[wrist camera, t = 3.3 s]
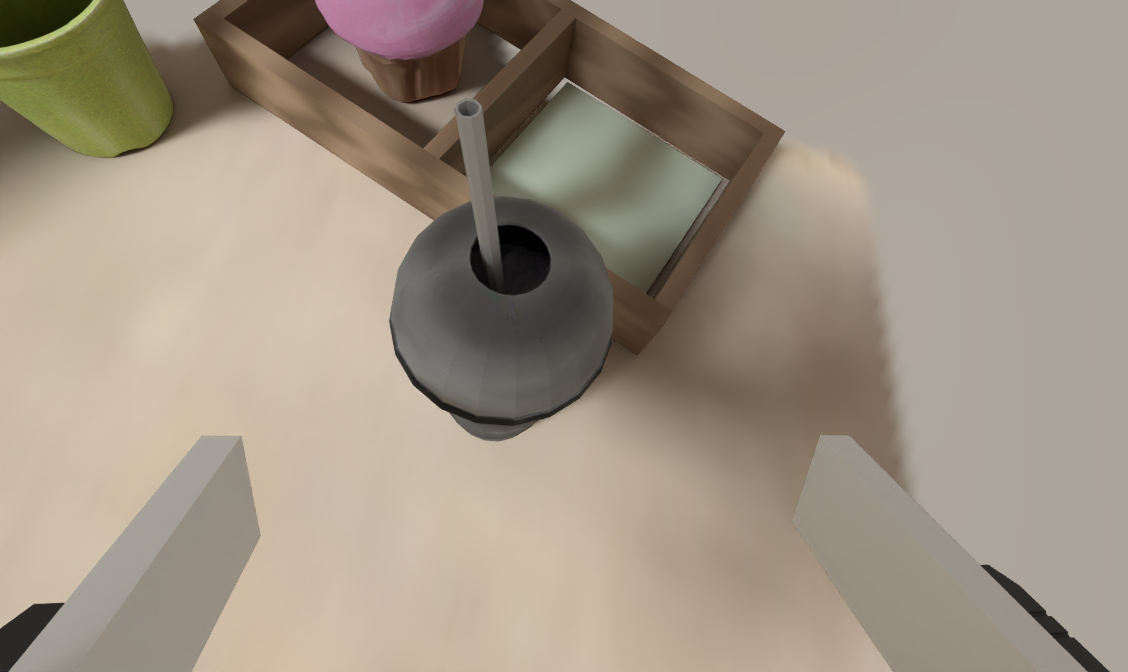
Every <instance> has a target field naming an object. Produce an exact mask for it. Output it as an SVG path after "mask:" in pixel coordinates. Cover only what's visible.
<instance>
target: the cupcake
mask: <svg viewBox="0 0 1128 672" xmlns="http://www.w3.org/2000/svg"><path fill="white" fill-rule="evenodd" d="M315 2H316V5H317V7H318V9H319V10H320V12H321V13H322V15H323V16H324V18H325V20H326V22H327V24H328V25H329V26H330V28H331V29H332V30H333V31H334V32H335V33H336V34H337V35H338V36H340V37H341V38H343V39H344V40H345V41H347V42H348V43H350V44H351V45H353V46H355V47H356V49H357V51H358V53H359V55H360V58H361V61H362V63H363V65H364V67H365V68H366V69H367V70H368V71H369V72H371V73H372V75H373V77H374V79H375V81H376V82H377V84H378V85H379V87H380V88H381V89H382V90H383V92H384V93H385V94H386V95H388V96H389V97H390V98H392V99H394V100H397V101H401V102H412V101H415V100H418V99H423V98H426V97H430V96H433V95H440V94H443V93H445V92H447V91H450V90H453V89H455V88H456V86H457V84H458V79H459V76H460V73H461V69H462V62H463V57H464V48H465V39H466V34H467V33H468V32H469V31H470V30H471V29H472V28H473V27H474V25H475V24H476V22H477V21H478V19H479V17H480V15H481V11H482V8H483V2H484V0H315Z"/></svg>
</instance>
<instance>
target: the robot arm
mask: <svg viewBox="0 0 1128 672" xmlns="http://www.w3.org/2000/svg"><path fill="white" fill-rule="evenodd" d="M792 524H793V525H794V527H795V528H796V529H797V531H798V532H799V534H800V535H801V537H802V538H803V540H804V541H805V543H806V544H807V546H808V547H809V549H810V550H811V552H812V553H813V554H814V556H815V557H816V559H817V560H818V562H819V563H820V565H821V566H822V568H823V569H824V571H825V572H826V574H827V575H828V577H829V578H830V580H831V581H832V582H833V584H834V585H835V587H836V588H837V590H838V591H839V593H840V594H841V596H842V597H843V599H844V600H845V602H846V603H847V605H848V606H849V607H850V609H851V610H852V612H853V613H854V615H855V616H856V618H857V619H858V621H859V622H860V624H861V625H862V627H863V628H864V630H865V631H866V633H867V634H868V635H869V637H870V638H871V640H872V641H873V643H874V644H875V646H876V647H877V649H878V650H879V652H880V653H881V655H882V656H883V658H884V659H885V660H886V662H887V663H888V665H889V666H890V668H891V669H892V671H893V672H1109V671H1108V670H1107V669H1106V668H1105V667H1104V666H1103V665H1102V664H1101V663H1100V662H1099V661H1098V660H1097V659H1096V658H1095V657H1094V656H1093V655H1092V654H1091V653H1089V652H1088V651H1087V650H1086V649H1085V648H1084V647H1083V646H1082V645H1081V644H1080V643H1079V642H1078V641H1077V640H1076V639H1075V638H1071V637H1069V635H1068V632H1067V631H1066V630H1065V629H1064V628H1063V627H1062V626H1061V625H1060V624H1059V623H1058V622H1057V621H1056V620H1055V619H1054V618H1053V617H1052V616H1047V614H1046V610H1045V609H1043V608H1042V607H1041V606H1040V605H1039V604H1038V603H1037V602H1036V601H1035V600H1034V599H1033V598H1032V597H1031V596H1030V595H1029V594H1028V593H1027V592H1026V591H1025V590H1024V589H1022V587H1020V586H1019V585H1018V584H1016V583H1014V582H1013V581H1012V580H1010V579H1009V578H1007V577H1006V576H1004V575H1003V574H1001V573H1000V572H998V571H996V570H995V569H994V568H992V567H991V566H989V565H979V564H978V563H977V562H976V561H975V560H974V559H973V558H972V557H971V556H970V555H969V554H968V553H967V552H966V551H965V550H964V549H963V548H962V547H961V546H960V545H959V544H958V543H957V542H956V541H955V540H954V539H953V538H952V537H951V536H950V535H949V534H948V533H947V532H946V531H945V530H944V529H943V528H942V527H941V526H940V525H939V524H938V523H937V522H936V521H935V520H934V519H933V518H932V517H931V516H930V515H929V514H928V513H927V512H926V511H925V510H924V509H923V508H922V507H921V506H920V505H919V504H918V503H917V502H916V501H915V500H914V499H913V498H912V497H911V496H910V495H909V494H908V493H907V492H906V491H905V490H904V489H903V488H902V487H901V486H900V485H899V484H898V483H897V482H896V481H895V480H894V479H893V478H892V477H891V476H890V475H889V474H888V473H887V472H886V471H885V470H884V469H883V468H882V467H881V466H880V465H879V464H878V463H877V462H876V461H875V460H874V459H873V458H872V457H871V456H870V455H868V454H867V453H866V452H865V451H864V450H863V449H862V448H861V447H860V446H859V445H858V444H857V443H856V442H855V441H854V440H853V439H852V438H851V437H850V436H849V435H820V437H819V440H818V443H817V446H816V449H815V452H814V456H813V459H812V462H811V465H810V468H809V471H808V474H807V477H806V480H805V483H804V486H803V489H802V492H801V495H800V498H799V501H798V504H797V507H796V510H795V513H794V517H793V520H792ZM260 536H261V535H260V530H259V525H258V520H257V515H256V509H255V504H254V499H253V494H252V489H251V484H250V478H249V473H248V468H247V463H246V458H245V453H244V447H243V442H242V437H241V436H201V438H200V439H199V440H198V441H197V442H196V444H195V445H194V446H193V447H192V448H191V450H190V451H189V452H188V453H187V455H186V456H185V457H184V458H183V459H182V461H181V462H180V463H179V464H178V466H177V467H176V468H175V469H174V470H173V472H172V473H171V474H170V475H169V477H168V478H167V479H166V480H165V481H164V483H163V484H162V485H161V486H160V488H159V489H158V490H157V491H156V492H155V494H154V495H153V496H152V497H151V499H150V500H149V501H148V502H147V503H146V505H145V506H144V507H143V508H142V510H141V511H140V512H139V513H138V514H137V516H136V517H135V518H134V519H133V521H132V522H131V523H130V524H129V525H128V527H127V528H126V529H125V530H124V532H123V533H122V534H121V535H120V536H119V538H118V539H117V540H116V541H115V542H114V544H113V545H112V546H111V547H110V549H109V550H108V551H107V552H106V553H105V555H104V556H103V557H102V558H101V560H100V561H99V562H98V563H97V564H96V566H95V567H94V568H93V569H92V571H91V572H90V573H89V574H88V575H87V577H86V578H85V579H84V580H83V582H82V583H81V584H80V585H79V586H78V588H77V589H76V590H75V591H74V593H73V594H72V595H71V596H70V597H69V599H68V600H67V601H66V602H65V603H48V604H34V605H32V606H31V607H29V608H28V609H27V610H25V611H24V612H23V613H21V614H20V615H18V616H17V617H16V618H14V619H13V620H12V621H10V622H9V623H7V624H6V625H5V626H3V627H2V628H1V629H0V672H191V671H192V669H193V667H194V665H195V664H196V662H197V660H198V658H199V656H200V654H201V652H202V650H203V648H204V646H205V644H206V642H207V640H208V638H209V636H210V634H211V632H212V630H213V628H214V626H215V624H216V622H217V620H218V618H219V616H220V614H221V613H222V611H223V609H224V607H225V605H226V603H227V601H228V599H229V597H230V595H231V593H232V591H233V589H234V587H235V585H236V583H237V581H238V579H239V577H240V575H241V573H242V571H243V569H244V567H245V565H246V563H247V561H248V560H249V558H250V556H251V554H252V552H253V550H254V548H255V546H256V544H257V542H258V540H259V538H260Z"/></svg>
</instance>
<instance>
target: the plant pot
mask: <svg viewBox="0 0 1128 672" xmlns="http://www.w3.org/2000/svg"><path fill="white" fill-rule="evenodd" d="M0 101H2V102H3V103H5V104H6V105H8V106H9V107H10V108H12V109H13V110H15V111H16V112H18V113H19V114H21V115H22V116H23V117H25V118H26V119H28V120H29V121H31V122H32V123H33V124H35V125H36V126H37V127H39V128H40V129H42V130H43V131H44V132H46V133H47V134H49V135H50V136H52V137H53V138H55V139H56V140H58V141H59V142H61V143H62V144H64V145H65V146H67V147H68V148H70V149H72V150H73V151H76V152H78V153H81V154H84V155H88V156H95V157H115V156H117V155H118V154H120V153H122V152H125V151H128V150H131V149H136V148H143V147H146V146H148V145H150V144H151V143H153V142H154V141H155V140H156V139H158V138H159V137H160V136H161V135H162V134H163V132H164V131H165V130H166V128H167V127H168V125H169V123H170V120H171V118H172V114H173V104H172V100H171V97H170V94H169V91H168V89H167V87H166V85H165V83H164V81H163V79H162V77H161V75H160V73H159V71H158V69H157V67H156V65H155V63H154V61H153V60H152V58H151V56H150V54H149V52H148V50H147V48H146V46H145V44H144V42H143V40H142V38H141V36H140V34H139V32H138V30H137V28H136V26H135V23H134V21H133V19H132V17H131V15H130V13H129V11H128V9H127V7H126V5H125V3H124V1H123V0H0Z"/></svg>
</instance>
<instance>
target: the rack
mask: <svg viewBox="0 0 1128 672" xmlns="http://www.w3.org/2000/svg"><path fill="white" fill-rule="evenodd" d="M194 21H195V23H196V25H197V26H198V28H199V30H200V32H201V34H202V35H203V37H204V39H205V41H206V43H207V44H208V46H209V48H210V50H211V52H212V53H213V55H214V57H215V59H216V61H217V63H218V64H219V66H220V68H221V70H222V72H223V73H224V75H225V77H226V79H227V81H228V82H229V84H230V86H232V87H234V88H235V89H237V90H238V91H240V92H241V93H243V94H244V95H246V96H247V97H249V98H250V99H252V100H253V101H255V102H256V103H258V104H259V105H261V106H262V107H264V108H265V109H267V110H268V111H270V112H271V113H273V114H274V115H276V116H277V117H279V118H280V119H282V120H283V121H285V122H286V123H288V124H289V125H291V126H292V127H294V128H295V129H297V130H298V131H300V132H301V133H303V134H304V135H306V136H307V137H309V138H310V139H312V140H313V141H315V142H317V143H318V144H320V145H321V146H323V147H324V148H326V149H327V150H329V151H330V152H332V153H333V154H335V155H336V156H338V157H339V158H341V159H342V160H344V161H345V162H347V163H348V164H350V165H351V166H353V167H354V168H356V169H357V170H359V171H360V172H362V173H363V174H365V175H366V176H368V177H369V178H371V179H372V180H374V181H375V182H377V183H378V184H380V185H381V186H383V187H384V188H386V189H387V190H389V191H390V192H392V193H393V194H395V195H397V196H398V197H400V198H401V199H403V200H404V201H406V202H407V203H409V204H410V205H412V206H413V207H415V208H416V209H418V210H419V211H421V212H422V213H424V214H425V215H427V216H428V217H430V218H431V219H433V220H434V221H435V220H436V219H437V218H438V217H439V216H440V215H442V214H443V213H445V212H447V211H449V210H452V209H454V208H456V207H458V206H460V205H463V204H465V203H467V202H469V201H471V197H470V191H469V186H468V180H467V175H466V169H465V164H464V158H463V153H462V147H461V142H460V136H459V131H458V125H457V120H456V116H455V117H454V118H453V119H452V120H451V121H450V122H449V123H448V124H447V125H446V126H445V127H444V128H443V129H442V130H441V131H440V132H439V133H438V134H437V135H436V136H435V137H434V138H433V139H432V140H431V141H430V142H429V143H428V144H427V145H426V146H425V147H424V148H421V147H420V146H418V145H417V144H415V143H414V142H412V141H411V140H409V139H408V138H406V137H405V136H403V135H402V134H400V133H398V132H397V131H395V130H394V129H392V128H391V127H389V126H388V125H386V124H385V123H383V122H382V121H380V120H379V119H377V118H375V117H374V116H372V115H371V114H369V113H368V112H366V111H365V110H363V109H362V108H360V107H359V106H357V105H355V104H354V103H352V102H351V101H349V100H348V99H346V98H345V97H343V96H342V95H340V94H339V93H337V92H336V91H334V90H332V89H331V88H329V87H328V86H326V85H325V84H323V83H322V82H320V81H319V80H317V79H316V78H314V77H313V76H311V75H309V74H308V73H306V72H305V71H303V70H302V69H300V68H299V67H297V66H296V65H294V64H293V63H291V62H289V61H288V60H286V59H288V58H289V57H290V56H291V55H293V54H294V53H295V52H296V51H298V50H299V49H300V48H301V47H303V46H304V45H305V44H306V43H308V42H309V41H310V40H311V39H313V38H314V37H315V36H316V35H318V34H319V33H320V32H321V31H323V30H324V29H325V28H326V27H328V26H329V25H328V24H327V22H326V20H325V18H324V16H323V15H322V13H321V12H320V10H319V9H318V7H317V5H316V2H315V0H220V1H218V2H217V3H216V4H214V5H213V6H211V7H210V8H208V9H207V10H206V11H204V12H203V13H201V14H200V15H199V16H197V17H196V18H194ZM477 23H479V24H480V25H482V26H484V27H485V28H487V29H488V30H490V31H492V32H493V33H495V34H496V35H498V36H500V37H501V38H503V39H504V40H506V41H508V42H509V43H511V44H512V45H514V46H516V47H517V48H519V49H520V50H521V51H520V52H519V53H518V54H517V55H516V56H515V57H514V58H513V59H512V60H511V61H510V62H509V63H508V64H507V65H506V66H505V67H504V68H503V69H502V70H501V71H500V72H499V73H498V74H497V75H496V76H495V77H494V78H493V79H492V80H491V81H490V82H489V83H488V84H487V85H486V86H485V87H484V88H483V89H482V90H481V91H480V92H479V93H478V94H477V95H476V96H475V97H474V98H473V99H474V100H477V101H478V102H479V103H480V105H481V106H482V110H483V118H484V126H485V134H486V142H487V150H488V157H489V159H490V158H491V157H492V156H493V155H494V154H495V153H496V152H497V150H498V149H499V148H500V147H501V146H502V145H503V144H504V143H505V142H506V141H507V140H508V138H509V137H510V136H511V135H512V134H513V133H514V132H515V131H516V130H517V129H518V128H519V126H520V125H521V124H522V123H523V122H524V121H525V120H526V119H527V118H528V117H529V116H530V114H531V113H532V112H533V111H534V110H535V109H536V108H537V107H538V106H539V105H540V104H541V102H542V101H543V100H544V99H545V98H546V97H547V96H548V95H549V94H550V93H551V92H552V90H553V89H554V88H555V87H556V86H557V85H558V84H559V83H560V82H561V80H562V79H563V78H564V77H565V78H567V79H568V80H570V81H572V82H573V83H575V84H577V85H578V86H580V87H581V88H583V89H584V90H586V91H588V92H589V93H591V94H593V95H594V96H596V97H597V98H599V99H601V100H602V101H604V102H605V103H607V104H609V105H610V106H612V107H613V108H615V109H617V110H618V111H620V112H621V113H623V114H625V115H626V116H628V117H629V118H631V119H633V120H634V121H636V122H637V123H639V124H641V125H642V126H644V127H645V128H647V129H649V130H650V131H652V132H653V133H655V134H657V135H658V136H660V137H661V138H663V139H665V140H666V141H668V142H669V143H671V144H673V145H674V146H676V147H677V148H679V149H681V150H682V151H684V152H685V153H687V154H689V155H690V156H692V157H693V158H695V159H697V160H698V161H700V162H701V163H703V164H705V165H706V166H708V167H709V168H711V169H713V170H714V171H716V172H718V173H719V174H721V175H722V176H724V177H726V178H727V179H729V180H730V182H729V183H728V185H727V186H726V188H725V189H724V191H723V192H722V194H721V196H720V197H719V199H718V200H717V202H716V203H715V205H714V206H713V208H712V209H711V211H710V212H709V214H708V215H707V217H706V218H705V220H704V221H703V223H702V225H701V226H700V228H699V229H698V231H697V232H696V234H695V235H694V237H693V238H692V240H691V241H690V243H689V244H688V246H687V247H686V249H685V250H684V252H683V254H682V255H681V257H680V258H679V260H678V261H677V263H676V264H675V266H674V267H673V269H672V270H671V272H670V273H669V275H668V276H667V278H666V279H665V281H664V283H663V284H662V286H661V287H660V289H659V290H658V292H657V293H656V295H655V296H654V298H652V297H650V296H649V295H647V294H646V293H647V291H648V290H649V288H650V287H651V285H652V284H653V282H654V281H655V279H656V278H657V276H658V275H659V273H660V272H661V270H662V269H663V267H664V266H665V264H666V263H667V261H668V260H669V258H670V257H671V255H672V254H673V252H674V251H675V249H676V248H677V246H678V245H679V243H680V242H681V240H682V239H683V237H684V236H685V234H686V233H687V231H688V230H689V228H690V227H691V225H692V224H693V222H694V221H695V219H696V218H697V216H698V215H699V213H700V212H701V210H702V209H703V207H704V206H705V204H706V203H707V201H708V200H709V198H710V197H711V195H712V193H713V192H714V190H715V189H716V187H717V186H718V184H719V183H720V181H721V180H722V178H720V177H719V176H717V175H716V174H714V173H712V172H711V171H709V170H708V169H706V168H704V167H703V166H701V165H700V164H698V163H696V162H695V161H693V160H692V159H690V158H688V157H687V156H685V155H684V154H682V153H680V152H679V151H677V150H676V149H674V148H672V147H671V146H669V145H668V144H666V143H664V142H663V141H661V140H660V139H658V138H656V137H655V136H653V135H652V134H650V133H648V132H647V131H645V130H644V129H642V128H640V127H639V126H637V125H636V124H634V123H632V122H631V121H629V120H628V119H626V118H624V117H623V116H621V115H620V114H618V113H616V112H615V111H613V110H612V109H610V108H608V107H607V106H605V105H604V104H602V103H600V102H599V101H597V100H596V99H594V98H592V97H591V96H589V95H587V94H586V93H584V92H583V91H581V90H579V89H578V88H576V87H575V86H573V85H572V84H570V83H568V82H567V83H566V84H565V85H564V87H563V88H562V89H561V90H560V91H559V92H558V93H557V94H556V95H555V96H554V97H553V99H552V100H551V101H550V102H549V103H548V104H547V105H546V106H545V107H544V108H543V110H542V111H541V112H540V113H539V114H538V115H537V116H536V117H535V118H534V119H533V121H532V122H531V123H530V124H529V125H528V126H527V127H526V128H525V129H524V130H523V132H522V133H521V134H520V135H519V136H518V137H517V138H516V139H515V140H514V142H513V143H512V144H511V145H510V146H509V147H508V148H507V149H506V150H505V151H504V153H503V154H502V155H501V156H500V157H499V158H498V159H497V160H496V161H495V162H494V164H493V165H492V166H491V167H490V173H491V181H492V189H493V197H497V196H507V197H515V198H523V199H531V200H533V201H536V202H538V203H541V204H543V205H546V206H548V207H551V208H553V209H555V210H558V211H559V212H560V213H562V214H563V215H564V216H566V217H567V218H568V219H569V220H571V221H572V222H573V223H575V224H576V225H577V226H578V227H580V228H581V229H582V230H583V231H584V232H585V233H586V235H587V236H588V238H589V239H590V240H591V242H592V243H593V245H594V246H595V247H596V249H597V250H598V252H599V253H600V254H601V256H602V258H603V261H604V264H605V267H606V270H607V273H608V276H609V280H610V283H611V286H612V289H613V331H612V339H614V340H615V341H617V342H618V343H620V344H621V345H623V346H624V347H626V348H627V349H629V350H630V351H632V352H633V353H635V354H636V355H638V354H639V353H640V352H641V350H642V349H643V348H644V347H645V346H646V345H647V344H648V342H649V341H650V340H651V339H652V338H653V337H654V335H655V334H656V333H657V332H658V331H659V330H660V329H661V327H662V326H663V325H664V323H665V321H666V320H667V318H668V317H669V315H670V313H671V312H672V310H673V309H674V307H675V306H676V304H677V302H678V301H679V299H680V298H681V296H682V294H683V293H684V291H685V290H686V288H687V287H688V285H689V283H690V282H691V280H692V279H693V277H694V275H695V274H696V272H697V271H698V269H699V268H700V266H701V264H702V263H703V261H704V260H705V258H706V256H707V255H708V253H709V252H710V250H711V249H712V247H713V245H714V244H715V242H716V241H717V239H718V237H719V236H720V234H721V233H722V231H723V230H724V228H725V226H726V225H727V223H728V222H729V220H730V218H731V217H732V215H733V214H734V212H735V210H736V209H737V207H738V206H739V204H740V203H741V201H742V199H743V198H744V196H745V195H746V193H747V191H748V190H749V188H750V187H751V185H752V184H753V182H754V180H755V179H756V177H757V176H758V174H759V172H760V171H761V169H762V168H763V166H764V165H765V163H766V161H767V160H768V158H769V157H770V155H771V153H772V152H773V150H774V149H775V147H776V146H777V144H778V142H779V141H780V139H781V138H782V136H783V134H784V133H785V131H784V130H782V129H781V128H779V127H777V126H776V125H774V124H772V123H771V122H769V121H767V120H766V119H764V118H762V117H761V116H759V115H758V114H756V113H754V112H753V111H751V110H749V109H748V108H746V107H744V106H743V105H741V104H740V103H738V102H736V101H734V100H733V99H731V98H730V97H728V96H726V95H725V94H723V93H722V92H720V91H718V90H716V89H715V88H713V87H712V86H710V85H708V84H707V83H705V82H704V81H702V80H700V79H699V78H697V77H695V76H694V75H692V74H691V73H689V72H687V71H685V70H684V69H682V68H681V67H679V66H677V65H676V64H674V63H672V62H671V61H669V60H668V59H666V58H664V57H663V56H661V55H659V54H658V53H656V52H654V51H653V50H651V49H650V48H648V47H646V46H645V45H643V44H641V43H640V42H638V41H636V40H635V39H633V38H632V37H630V36H628V35H627V34H625V33H623V32H622V31H620V30H618V29H617V28H615V27H614V26H612V25H610V24H609V23H607V22H605V21H604V20H602V19H600V18H599V17H597V16H595V15H594V14H592V13H591V12H589V11H587V10H586V9H584V8H582V7H581V6H579V5H578V4H575V3H574V2H573V1H571V0H484V2H483V8H482V11H481V15H480V17H479V19H478V21H477Z"/></svg>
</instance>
